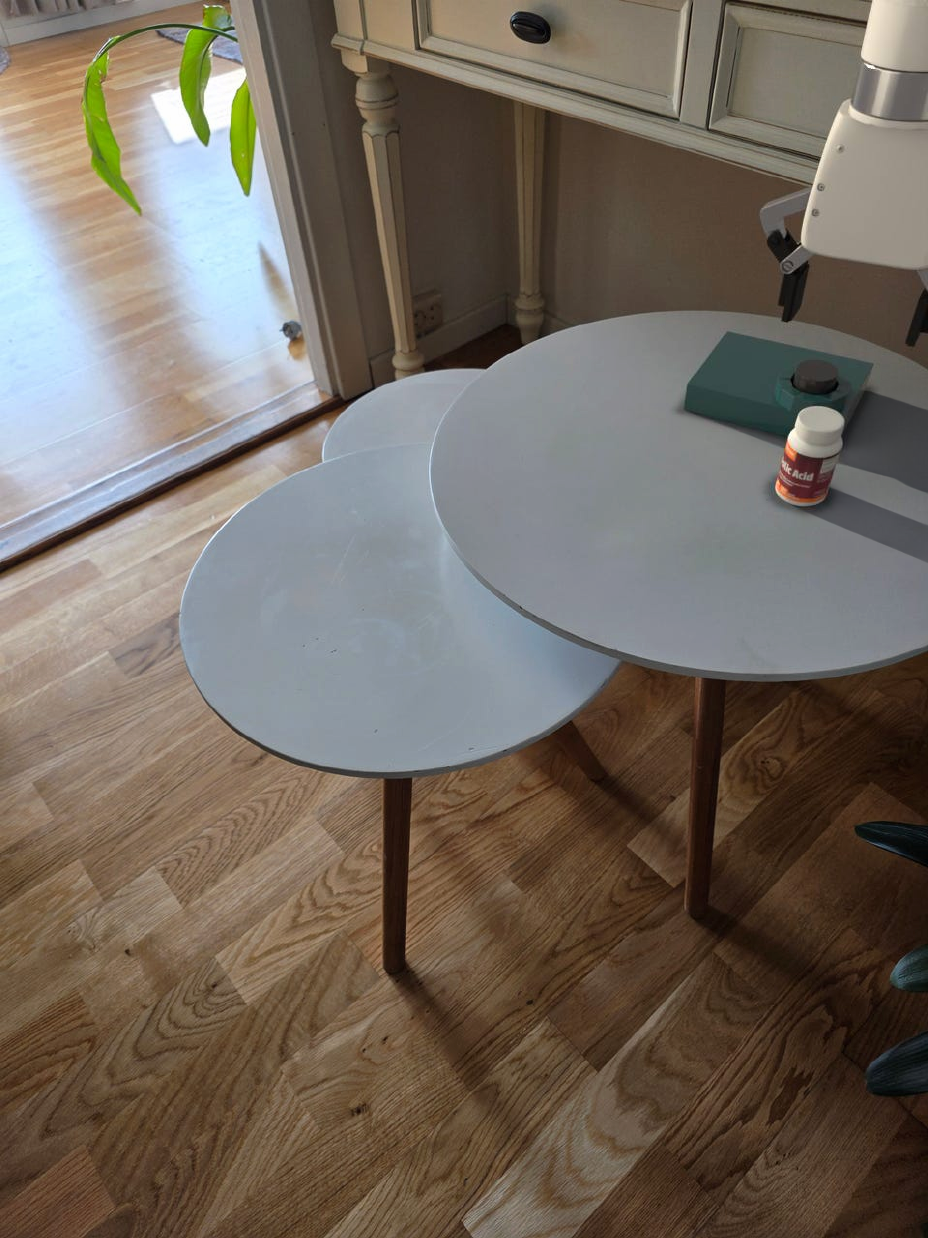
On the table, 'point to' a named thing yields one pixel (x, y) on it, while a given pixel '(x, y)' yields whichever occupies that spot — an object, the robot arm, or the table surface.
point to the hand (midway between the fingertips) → (850, 326)
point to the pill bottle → (810, 456)
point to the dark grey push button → (815, 377)
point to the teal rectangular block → (768, 384)
